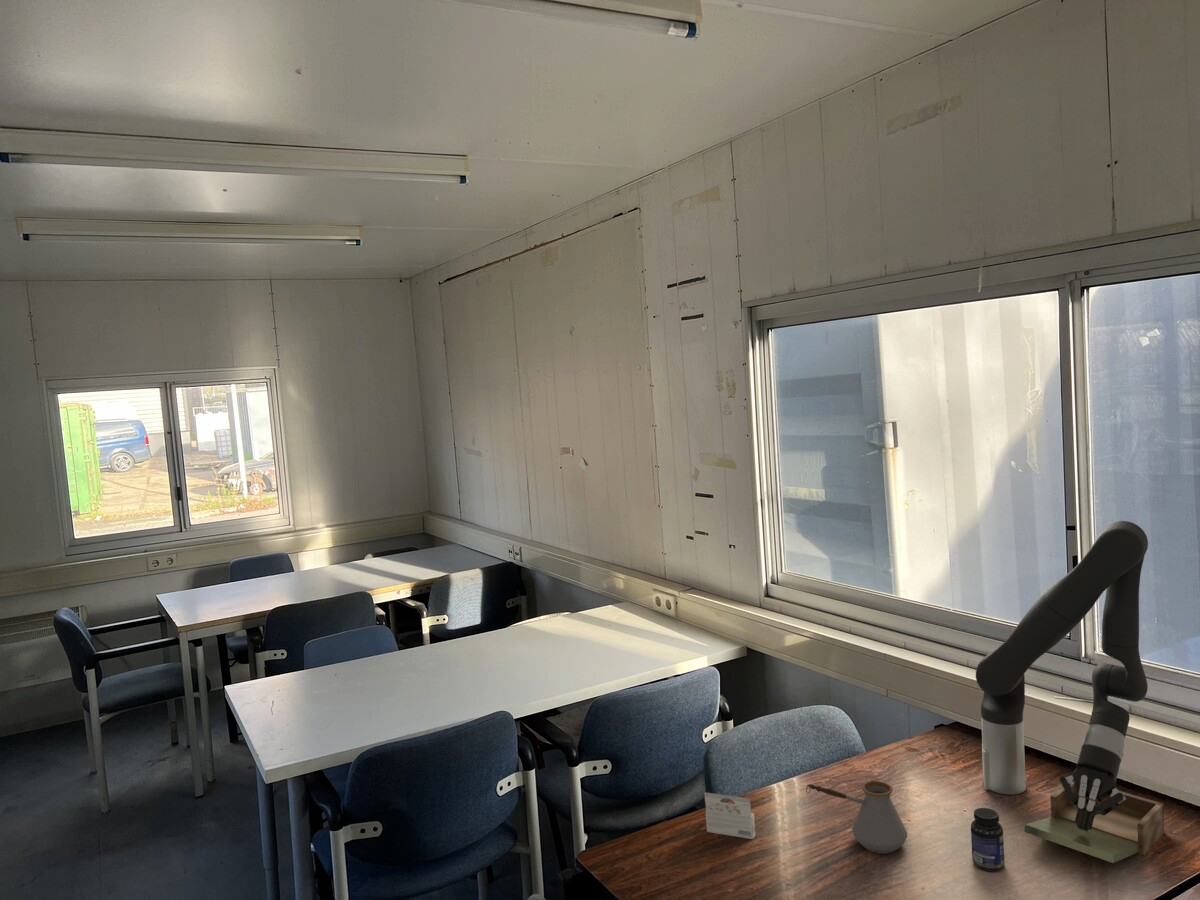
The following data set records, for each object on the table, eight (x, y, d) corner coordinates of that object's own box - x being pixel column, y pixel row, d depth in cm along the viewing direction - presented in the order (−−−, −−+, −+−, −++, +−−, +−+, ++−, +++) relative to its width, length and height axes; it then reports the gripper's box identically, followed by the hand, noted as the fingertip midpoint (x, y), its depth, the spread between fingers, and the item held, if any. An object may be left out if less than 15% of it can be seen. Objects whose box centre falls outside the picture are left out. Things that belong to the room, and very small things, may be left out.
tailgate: (1053, 815, 188) (1025, 824, 180) (1140, 844, 175) (1113, 855, 166) (1053, 822, 188) (1024, 831, 179) (1139, 851, 175) (1113, 863, 166)
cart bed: (1074, 804, 197) (1073, 777, 196) (1164, 832, 182) (1163, 803, 182) (1051, 824, 189) (1050, 796, 189) (1143, 855, 175) (1142, 825, 174)
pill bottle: (1008, 873, 172) (1006, 821, 171) (976, 872, 174) (973, 820, 173) (1000, 856, 178) (998, 806, 177) (969, 855, 180) (967, 805, 179)
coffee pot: (895, 828, 192) (892, 764, 191) (916, 855, 181) (913, 788, 180) (802, 836, 192) (798, 772, 190) (817, 865, 180) (813, 797, 179)
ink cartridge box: (709, 827, 199) (706, 787, 198) (756, 834, 194) (753, 793, 193) (706, 832, 197) (703, 792, 196) (753, 840, 192) (750, 798, 191)
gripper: (1063, 735, 186) (1042, 812, 180) (1130, 752, 176) (1111, 834, 170) (1074, 749, 190) (1054, 825, 184) (1141, 767, 180) (1122, 847, 174)
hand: (1082, 829), depth 177 cm, fingers closed
